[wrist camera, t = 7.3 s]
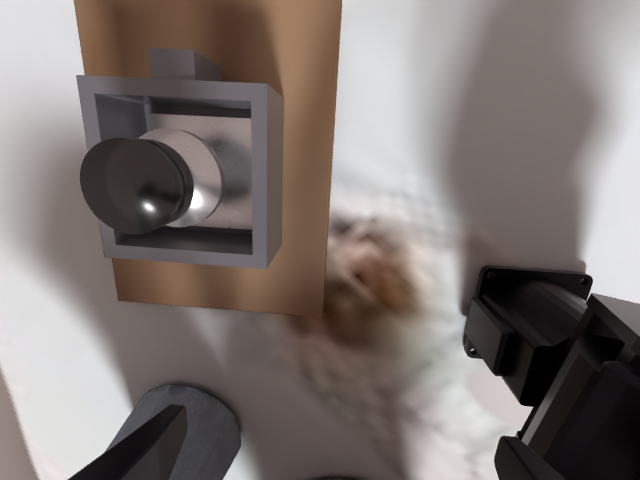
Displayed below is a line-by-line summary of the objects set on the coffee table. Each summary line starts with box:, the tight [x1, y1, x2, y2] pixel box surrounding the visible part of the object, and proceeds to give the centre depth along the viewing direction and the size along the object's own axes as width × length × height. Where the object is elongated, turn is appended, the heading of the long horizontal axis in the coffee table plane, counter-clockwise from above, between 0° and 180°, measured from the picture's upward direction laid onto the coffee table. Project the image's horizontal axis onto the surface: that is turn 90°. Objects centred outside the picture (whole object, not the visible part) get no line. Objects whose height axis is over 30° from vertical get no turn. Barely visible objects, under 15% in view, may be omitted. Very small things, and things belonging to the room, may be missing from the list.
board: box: [74, 0, 342, 317], centre depth 19 cm, size 14×18×1 cm
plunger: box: [80, 113, 252, 234], centre depth 14 cm, size 6×6×7 cm
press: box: [76, 48, 284, 269], centre depth 16 cm, size 8×10×4 cm
